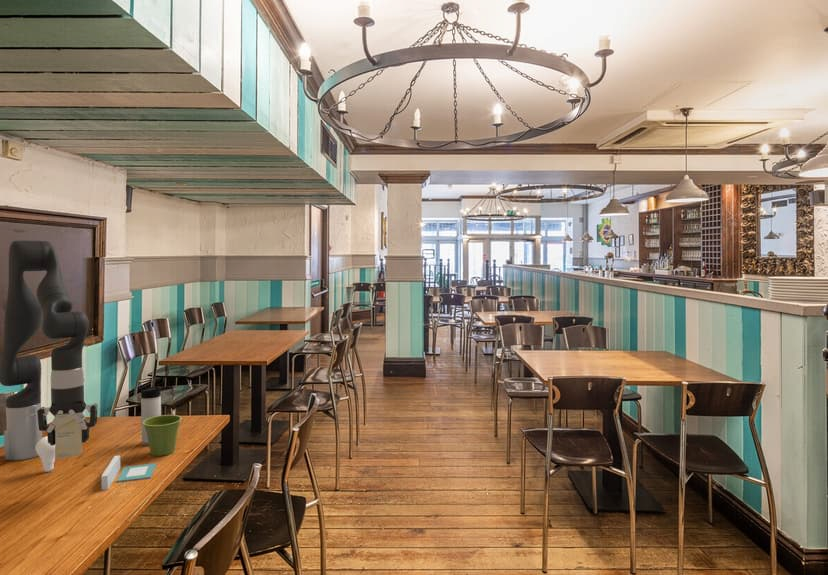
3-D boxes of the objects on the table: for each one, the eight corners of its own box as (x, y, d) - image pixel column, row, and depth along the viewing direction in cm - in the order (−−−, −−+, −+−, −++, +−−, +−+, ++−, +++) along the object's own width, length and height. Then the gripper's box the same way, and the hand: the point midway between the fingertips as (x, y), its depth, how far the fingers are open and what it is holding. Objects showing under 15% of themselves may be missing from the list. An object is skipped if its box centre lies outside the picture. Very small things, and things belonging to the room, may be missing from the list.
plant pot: (138, 460, 164) (137, 426, 164) (148, 448, 176) (148, 415, 175) (178, 457, 167) (177, 423, 166) (185, 445, 179) (184, 413, 178)
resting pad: (116, 482, 148) (116, 480, 148) (124, 468, 158) (124, 466, 158) (150, 478, 151) (150, 476, 151) (156, 464, 161) (156, 462, 161)
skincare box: (55, 459, 137) (54, 415, 137) (55, 454, 141) (54, 411, 140) (82, 455, 141) (81, 412, 140) (82, 450, 145) (81, 408, 144)
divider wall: (101, 490, 143) (101, 476, 143) (115, 468, 158) (114, 456, 158) (107, 489, 143) (107, 475, 143) (120, 467, 158) (120, 455, 158)
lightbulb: (65, 469, 158) (64, 434, 157) (45, 477, 152) (44, 440, 151) (51, 466, 160) (50, 432, 159) (31, 474, 154) (30, 438, 153)
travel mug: (157, 445, 178) (155, 389, 177) (138, 445, 178) (137, 389, 177) (166, 439, 184) (164, 385, 183) (148, 439, 184) (146, 385, 183)
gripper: (31, 389, 134) (33, 450, 135) (93, 385, 139) (95, 445, 140) (41, 382, 141) (43, 441, 142) (100, 379, 146) (102, 436, 147)
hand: (69, 443), depth 141 cm, fingers closed on skincare box, 7 cm apart
